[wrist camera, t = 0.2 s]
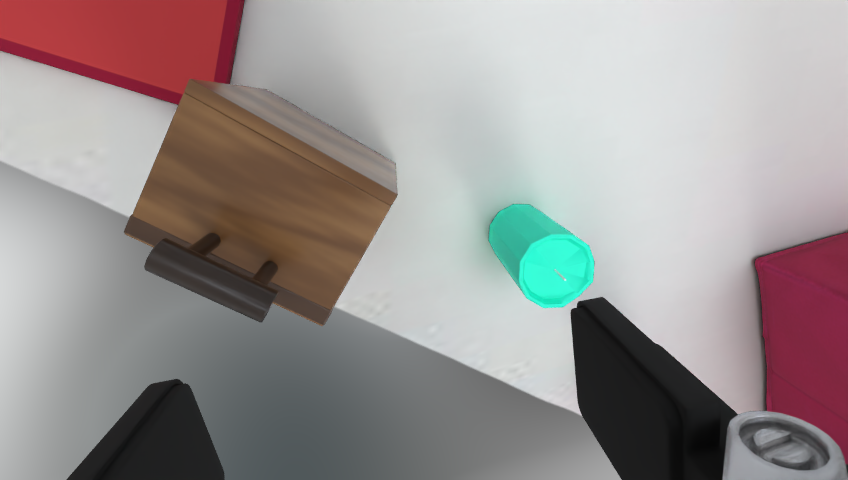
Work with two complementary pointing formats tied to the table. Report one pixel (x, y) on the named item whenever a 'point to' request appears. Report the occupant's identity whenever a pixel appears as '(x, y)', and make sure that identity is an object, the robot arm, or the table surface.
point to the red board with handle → (127, 40)
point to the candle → (541, 255)
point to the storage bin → (808, 333)
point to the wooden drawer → (259, 203)
